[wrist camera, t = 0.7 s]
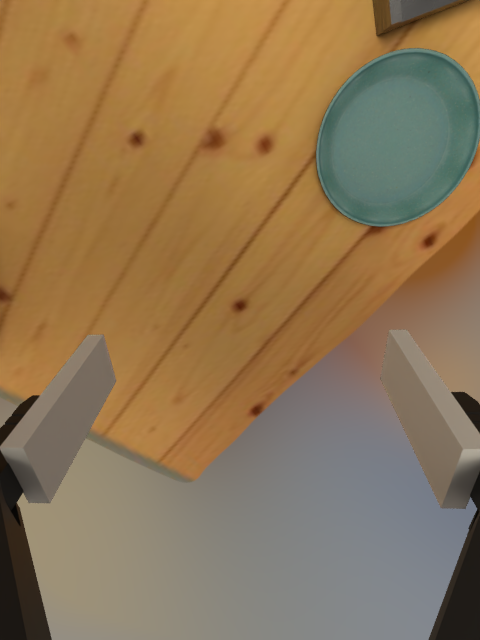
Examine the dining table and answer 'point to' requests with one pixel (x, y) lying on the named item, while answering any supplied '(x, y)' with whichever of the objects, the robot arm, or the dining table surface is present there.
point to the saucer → (398, 137)
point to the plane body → (406, 11)
